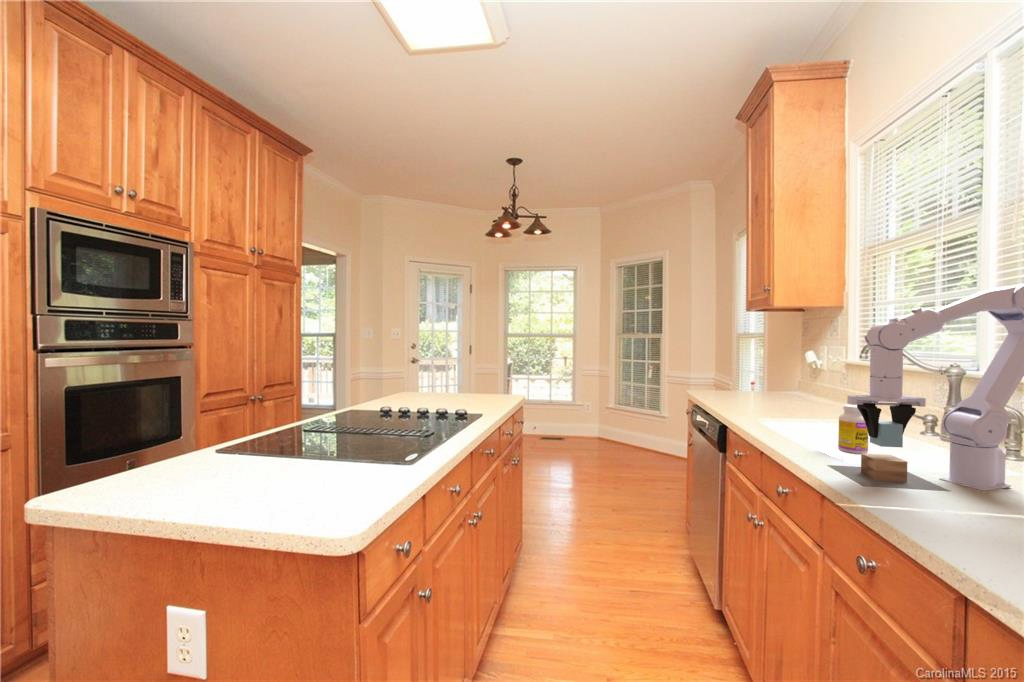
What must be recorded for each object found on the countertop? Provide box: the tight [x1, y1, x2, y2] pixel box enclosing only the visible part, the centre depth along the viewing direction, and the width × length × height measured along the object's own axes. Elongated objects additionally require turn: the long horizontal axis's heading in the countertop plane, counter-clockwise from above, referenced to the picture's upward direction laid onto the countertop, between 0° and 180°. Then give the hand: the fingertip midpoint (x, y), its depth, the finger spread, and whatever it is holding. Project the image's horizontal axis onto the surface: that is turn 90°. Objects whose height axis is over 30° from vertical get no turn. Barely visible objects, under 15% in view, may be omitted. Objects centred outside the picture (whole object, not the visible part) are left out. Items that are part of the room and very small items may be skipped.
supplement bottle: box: [837, 404, 869, 456], centre depth 128 cm, size 7×7×13 cm
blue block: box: [869, 420, 904, 448], centre depth 104 cm, size 4×4×5 cm
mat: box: [826, 464, 951, 492], centre depth 104 cm, size 16×16×1 cm
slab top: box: [860, 453, 908, 472], centre depth 104 cm, size 6×6×2 cm
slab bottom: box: [860, 462, 908, 482], centre depth 104 cm, size 6×6×2 cm
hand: (885, 437), depth 104 cm, fingers closed on blue block, 4 cm apart
